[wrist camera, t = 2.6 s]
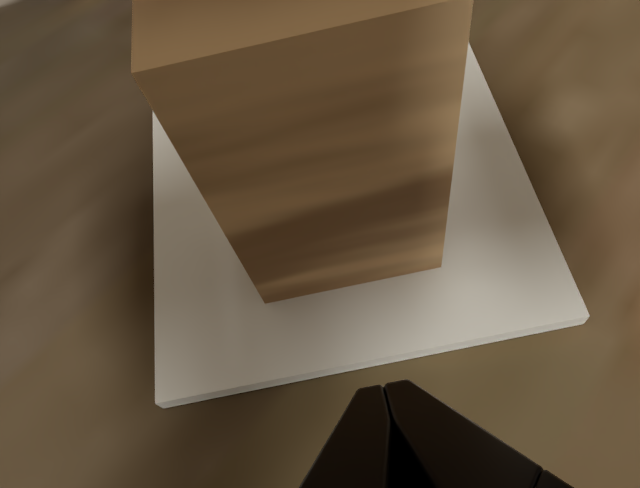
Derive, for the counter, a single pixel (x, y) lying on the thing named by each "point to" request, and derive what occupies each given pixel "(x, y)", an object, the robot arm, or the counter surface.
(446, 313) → the grey mat
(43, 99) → the counter surface
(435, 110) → the oak block
